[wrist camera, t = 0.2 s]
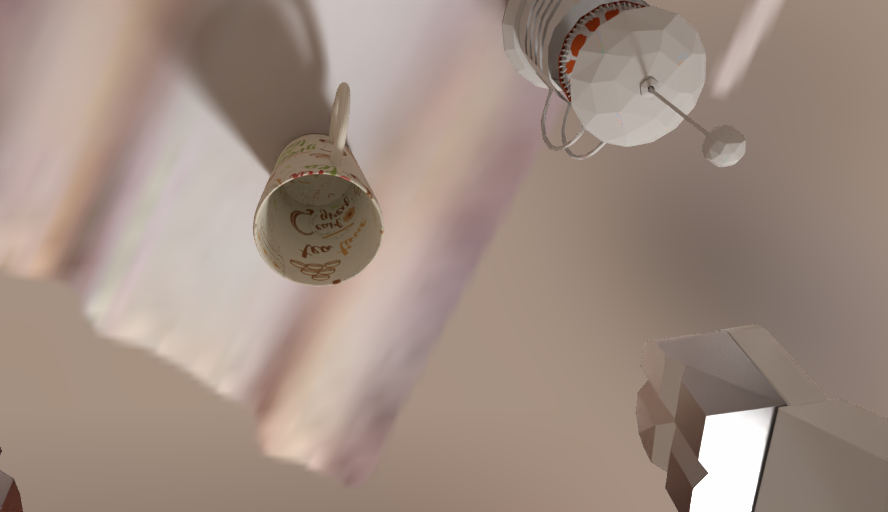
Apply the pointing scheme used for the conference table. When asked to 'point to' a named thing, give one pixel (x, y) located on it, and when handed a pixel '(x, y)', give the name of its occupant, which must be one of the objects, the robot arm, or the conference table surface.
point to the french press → (615, 70)
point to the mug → (319, 208)
